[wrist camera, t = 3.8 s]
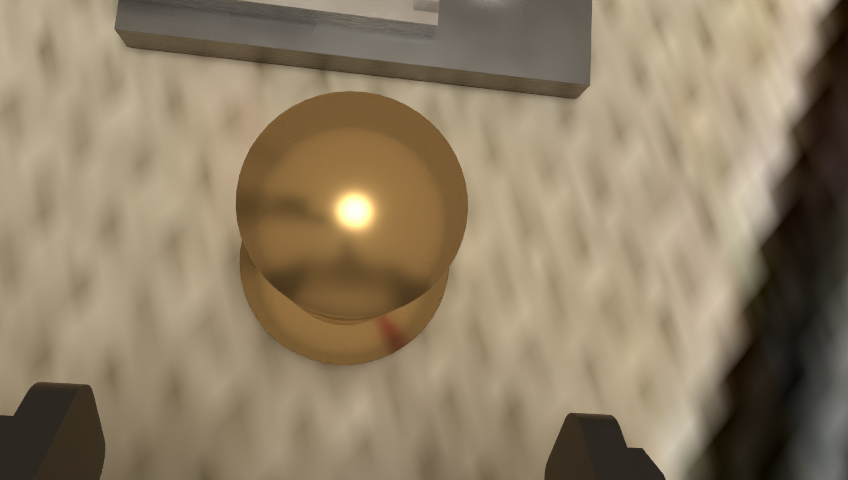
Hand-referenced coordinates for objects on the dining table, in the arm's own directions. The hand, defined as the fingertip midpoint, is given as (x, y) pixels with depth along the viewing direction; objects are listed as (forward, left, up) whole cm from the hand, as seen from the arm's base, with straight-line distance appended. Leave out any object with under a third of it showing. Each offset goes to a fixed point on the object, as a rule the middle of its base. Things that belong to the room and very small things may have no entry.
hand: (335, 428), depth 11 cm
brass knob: (0, +4, -9) cm, 10 cm away
